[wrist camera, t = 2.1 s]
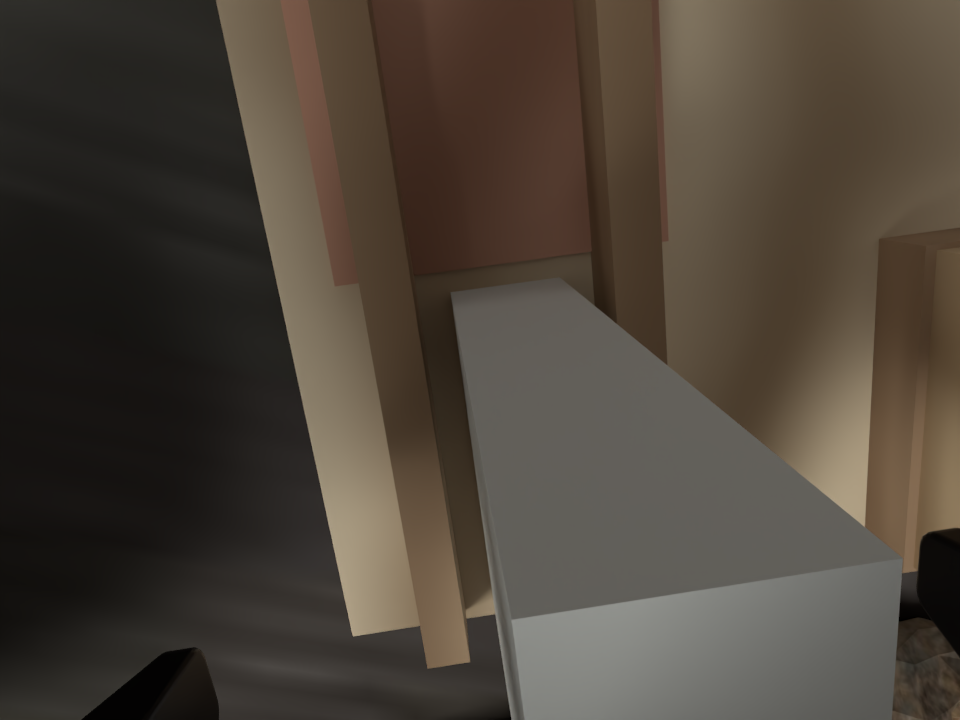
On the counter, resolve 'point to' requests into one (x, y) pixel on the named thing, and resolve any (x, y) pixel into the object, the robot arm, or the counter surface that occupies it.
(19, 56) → the counter surface
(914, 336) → the tan wooden square tile
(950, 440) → the oak offcut
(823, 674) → the panel
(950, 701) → the craggy brown boulder
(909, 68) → the rack
